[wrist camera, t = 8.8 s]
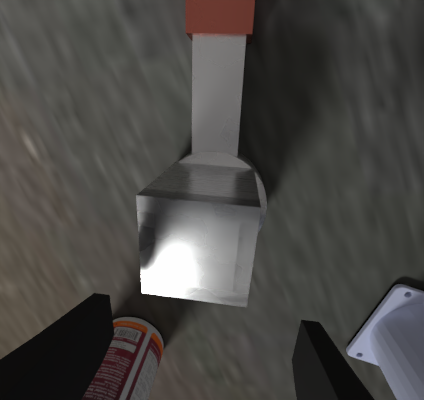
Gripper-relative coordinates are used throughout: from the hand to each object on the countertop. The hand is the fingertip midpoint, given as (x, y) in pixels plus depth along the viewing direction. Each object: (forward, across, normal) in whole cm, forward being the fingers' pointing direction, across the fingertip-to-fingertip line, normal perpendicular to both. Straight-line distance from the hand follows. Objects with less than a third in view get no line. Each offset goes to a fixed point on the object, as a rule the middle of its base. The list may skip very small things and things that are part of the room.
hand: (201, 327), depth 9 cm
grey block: (+8, +1, -2) cm, 8 cm away
